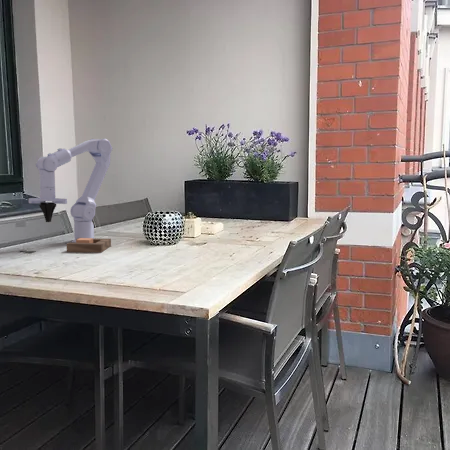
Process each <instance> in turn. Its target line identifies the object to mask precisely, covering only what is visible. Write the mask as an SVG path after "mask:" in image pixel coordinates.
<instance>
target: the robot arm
mask: <svg viewBox="0 0 450 450" xmlns="http://www.w3.org/2000/svg"><path fill="white" fill-rule="evenodd" d="M112 151H113V146H112V144H111V141H110V140H109V139H107V138H91V139H89V140H84V141H83V142H81V143H78V144H77V145H75V146H73V147H70V148H69V149H66V148H58V149H57V151H54V152H52V153H51V152H49V153H48V154H47V156H40V157H39V158H38V160H37V161H36V163H35V167H36V169H37V170H38V174H39V178H38V179H39V180H38V181H39V197H30V198H28V204H38V206H39V208H40V209H41V211H42V214H43V216H44V219H45V223H51V222H52V218H53V214H54V211H55V210H56V208H57V204H59V205H60V204H61V205H67V204H68V199H67V198H56V176H55V175H56V174H55V171H56V170H57V169H58V168H59V167H61V166H63V165H66V164H68V163H69V162H71V161H72V158H73V157H77V156H78V155H81V154H84V153H85V152H86V153H87V152H88V153H89V155H90V156H91V157H92V158H93V159H94V161H95V164H94V167H93V169H92V171H91V174H90V175H89V178H88V181H87V183H86V185H85V188H84V190H83V192H82V194H81V196H80V197H79V198H77V199H76V201H75V202H74V204H73V205H72V206H71V207H70V215H71V217H72V218H73V226H74V227H73V229H74V230H73V231H74V233H73V234H74V239H73V240H71V242H70V243H76V239H78V238H95V226H94V225H95V224H94V223H93V219H94V218H95V215H96V208H97V203H96V201H95V200H96V198H97V195H98V194H99V191H100V189H101V186H102V184H103V182H104V179H105V177H106V175H107V172H108V169H109V168H110V165H111V155H112V154H111V153H112Z"/></svg>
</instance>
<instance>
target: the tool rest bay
mask: <svg viewBox="0 0 450 450" xmlns="http://www.w3.org/2000/svg"><path fill="white" fill-rule="evenodd" d="M78 239H79V238H78ZM76 240H77V239H76ZM110 247H112V239H111V238H96V237H94V238H93V243H76V242H67V243H66V253H99V254H100V253H103V252H104V251H106V250H107V249H109V248H110Z"/></svg>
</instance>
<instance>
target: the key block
mask: <svg viewBox="0 0 450 450" xmlns="http://www.w3.org/2000/svg"><path fill="white" fill-rule="evenodd" d="M75 243H93V238H79V239H77V240H76V242H75Z"/></svg>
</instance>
